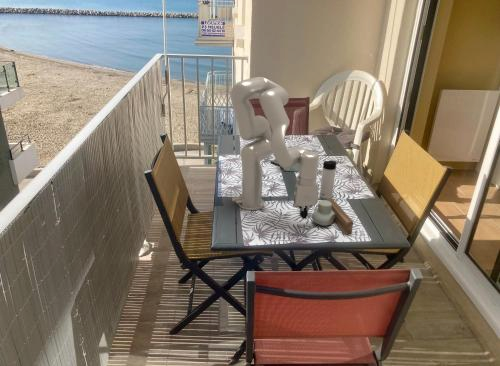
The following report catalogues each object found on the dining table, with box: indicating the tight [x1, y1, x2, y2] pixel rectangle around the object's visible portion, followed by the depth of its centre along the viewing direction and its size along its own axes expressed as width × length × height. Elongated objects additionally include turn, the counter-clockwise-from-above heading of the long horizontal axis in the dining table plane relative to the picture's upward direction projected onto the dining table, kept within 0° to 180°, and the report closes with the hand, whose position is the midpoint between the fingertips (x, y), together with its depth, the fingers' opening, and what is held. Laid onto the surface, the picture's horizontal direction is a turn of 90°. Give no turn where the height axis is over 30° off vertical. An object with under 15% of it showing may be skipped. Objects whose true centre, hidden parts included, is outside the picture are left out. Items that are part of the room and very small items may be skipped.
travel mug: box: [319, 160, 337, 200], centre depth 206 cm, size 6×7×20 cm
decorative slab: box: [270, 158, 300, 174], centre depth 246 cm, size 26×24×2 cm
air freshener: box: [311, 199, 335, 226], centre depth 186 cm, size 11×8×10 cm
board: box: [326, 197, 354, 235], centre depth 188 cm, size 3×22×6 cm, turn 14°
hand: (303, 217), depth 184 cm, fingers closed
